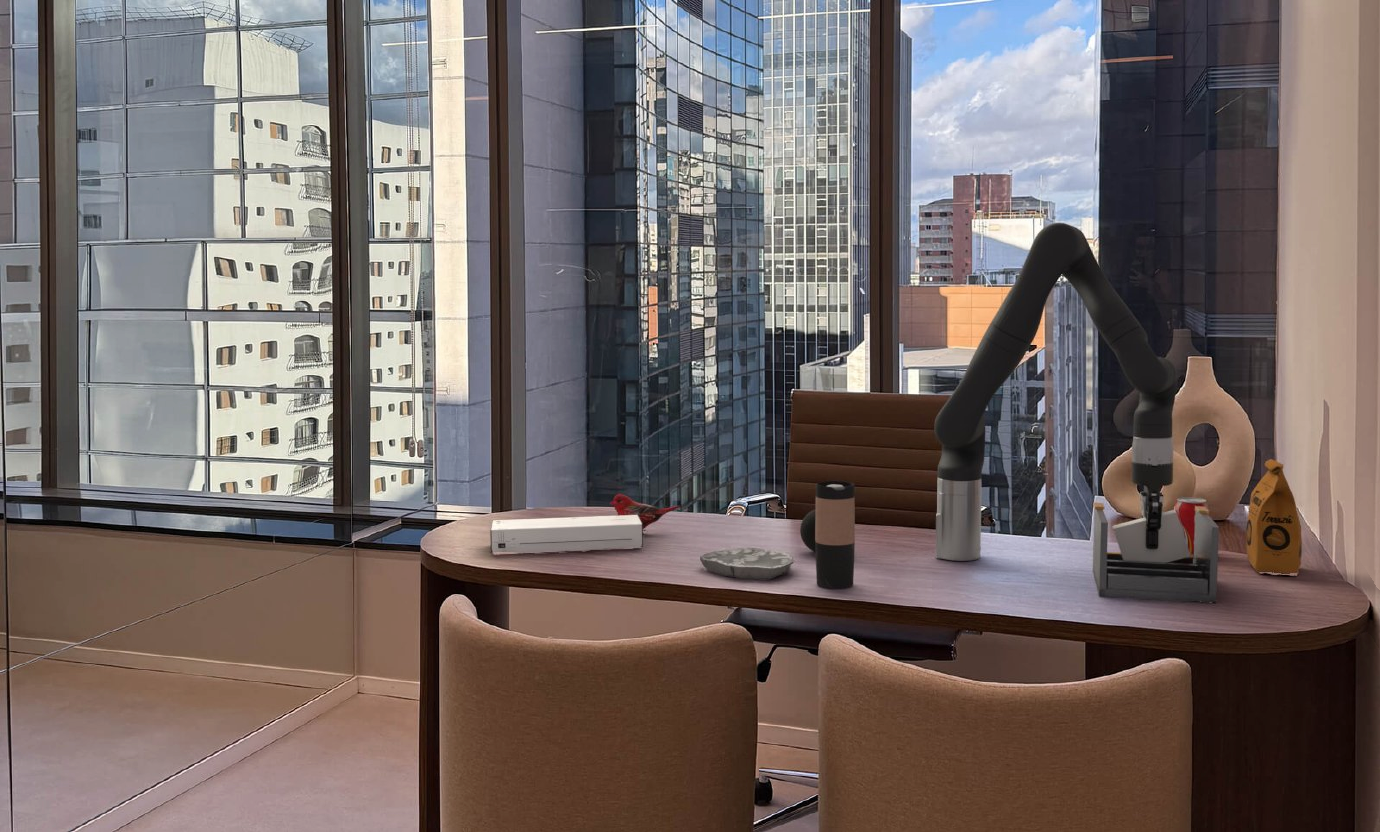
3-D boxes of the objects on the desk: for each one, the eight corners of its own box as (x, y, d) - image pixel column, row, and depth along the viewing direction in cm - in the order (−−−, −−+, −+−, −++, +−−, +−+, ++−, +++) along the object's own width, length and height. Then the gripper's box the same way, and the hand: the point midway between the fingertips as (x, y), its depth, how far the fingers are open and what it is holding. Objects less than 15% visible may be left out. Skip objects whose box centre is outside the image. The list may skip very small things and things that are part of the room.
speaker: (793, 555, 245) (793, 510, 244) (810, 546, 254) (810, 502, 253) (836, 559, 241) (836, 513, 240) (852, 550, 250) (852, 506, 248)
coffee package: (1246, 574, 224) (1251, 465, 221) (1243, 561, 235) (1247, 457, 233) (1303, 579, 220) (1308, 468, 217) (1297, 565, 231) (1302, 459, 229)
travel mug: (828, 577, 225) (828, 479, 223) (861, 583, 220) (862, 483, 218) (807, 585, 219) (807, 484, 217) (841, 591, 214) (841, 488, 212)
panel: (1127, 572, 221) (1113, 528, 221) (1126, 568, 224) (1112, 525, 223) (1190, 556, 217) (1176, 512, 217) (1188, 553, 220) (1174, 509, 220)
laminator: (638, 540, 265) (638, 514, 264) (643, 551, 253) (643, 524, 252) (492, 546, 260) (491, 520, 259) (490, 558, 248) (490, 530, 247)
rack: (1097, 596, 209) (1099, 519, 207) (1091, 571, 228) (1092, 501, 226) (1218, 603, 203) (1221, 524, 201) (1201, 577, 222) (1203, 505, 221)
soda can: (1187, 559, 238) (1189, 503, 236) (1165, 552, 244) (1166, 497, 243) (1215, 556, 239) (1217, 501, 238) (1192, 549, 246) (1194, 495, 245)
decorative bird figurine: (608, 534, 270) (608, 493, 268) (679, 529, 275) (679, 489, 273) (611, 537, 267) (610, 495, 266) (682, 531, 272) (682, 491, 271)
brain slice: (810, 567, 235) (810, 553, 235) (774, 585, 221) (774, 570, 220) (728, 557, 245) (728, 544, 245) (688, 574, 230) (688, 560, 230)
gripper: (1128, 454, 226) (1127, 538, 228) (1135, 464, 213) (1133, 553, 215) (1168, 455, 224) (1167, 540, 226) (1177, 465, 211) (1176, 555, 213)
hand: (1150, 546), depth 220 cm, fingers closed on panel, 3 cm apart
